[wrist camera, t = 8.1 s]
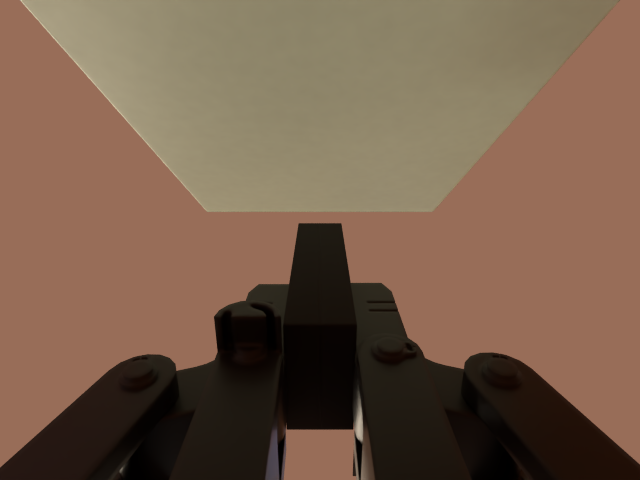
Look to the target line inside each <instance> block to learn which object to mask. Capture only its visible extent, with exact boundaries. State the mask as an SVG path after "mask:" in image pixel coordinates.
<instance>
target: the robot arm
mask: <svg viewBox="0 0 640 480" xmlns="http://www.w3.org/2000/svg"><path fill="white" fill-rule="evenodd" d="M214 320H215V330H216V340H217V349H218V353H217V355H216V358H215V360H214V361H212V362H209V363H207V364H204V365H201V366H197V367H193V368H188V369H184V370H179V371H176V366H175V363H174V362H173V361H172V360H171V359H170V358H168V357H165V356H162V355H149V354H147V355H142V356H137V357H133V358H130V359H128V360H126V361H123V362H121V363H119V364H118V365H116V366H115V367H113V368H112V369H110V370H109V371H108V372H107V373H106V374H104V375H103V376H102V377H101V378H100V379H99V380H98V381H97V382H95V383H94V384H93V385H92V386H91V387H90V388H89V389H88V390H87V391H85V392H84V393H83V394H82V395H81V396H80V397H79V398H78V399H76V400H75V401H74V402H73V403H72V404H71V405H70V406H69V407H68V408H66V409H65V410H64V411H63V412H62V413H61V414H60V415H59V416H57V417H56V418H55V419H54V420H53V421H52V422H51V423H50V424H49V425H47V426H46V427H45V428H44V429H43V430H42V431H41V432H40V433H38V434H37V435H36V436H35V437H34V438H33V439H32V440H31V441H30V442H28V443H27V444H26V445H25V446H24V447H23V448H22V449H21V450H19V451H18V452H17V453H16V454H15V455H14V456H13V457H12V458H10V459H9V460H8V461H7V462H6V463H5V464H4V465H3V466H2V467H0V480H283V479H284V468H285V457H286V433H285V431H286V422H287V429H353V422H354V429H355V433H354V459H353V476H356V479H357V480H640V464H638V463H637V462H636V461H635V460H634V459H633V458H632V457H631V456H629V455H628V454H627V453H626V452H625V451H624V450H623V449H622V448H620V447H619V446H618V445H617V444H616V443H615V442H614V441H613V440H611V439H610V438H609V437H608V436H607V435H606V434H605V433H604V432H602V431H601V430H600V429H599V428H598V427H597V426H596V425H595V424H593V423H592V422H591V421H590V420H589V419H588V418H587V417H586V416H584V415H583V414H582V413H581V412H580V411H579V410H578V409H576V408H575V407H574V406H573V405H572V404H571V403H570V402H568V401H567V400H566V399H565V398H564V397H563V396H562V395H561V394H560V393H558V392H557V391H556V390H555V389H554V388H553V387H552V386H551V385H549V384H548V383H547V382H546V381H545V380H544V379H543V378H542V377H540V376H539V375H538V374H537V373H536V372H535V371H534V370H533V369H531V368H530V367H528V366H527V365H526V364H524V363H522V362H521V361H519V360H517V359H514V358H512V357H510V356H507V355H503V354H498V353H479V354H476V355H473V356H470V357H469V359H468V360H467V361H466V362H465V365H464V369H460V368H455V367H451V366H446V365H442V364H438V363H435V362H432V361H430V360H428V359H426V358H425V357H424V355H423V352H422V350H421V349H420V347H419V346H418V345H417V344H416V343H415V342H413V341H412V340H410V339H409V338H408V337H407V334H406V331H405V329H404V326H403V323H402V320H401V317H400V314H399V312H398V309H397V306H396V303H395V300H394V297H393V295H392V292H391V291H390V290H389V289H388V288H387V287H385V286H384V285H383V284H382V283H350V276H349V270H348V264H347V257H346V251H345V244H344V238H343V232H342V225H341V223H299V225H298V232H297V238H296V245H295V251H294V257H293V264H292V270H291V276H290V283H289V284H259V285H257V286H256V287H255V288H254V289H253V290H251V291H250V292H249V293H248V296H247V299H246V301H240V302H237V303H234V304H230V305H228V306H226V307H224V308H223V309H221V310H219V311H218V313H217V314H216V315H215V316H214Z"/></svg>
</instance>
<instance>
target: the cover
mask: <svg viewBox="0 0 640 480" xmlns="http://www.w3.org/2000/svg"><path fill="white" fill-rule="evenodd" d="M20 1H21V2H22V3H23V4H24V5H25V6H26V7H27V9H28V10H29V11H30V12H31V13H32V14H33V15H34V16H35V18H36V19H37V20H38V21H39V22H40V23H41V24H42V26H43V27H44V28H45V29H46V30H47V31H48V32H49V33H50V35H51V36H52V37H53V38H54V39H55V40H56V41H57V42H58V44H59V45H60V46H61V47H62V48H63V49H64V50H65V52H66V53H67V54H68V55H69V56H70V57H71V58H72V59H73V61H74V62H75V63H76V64H77V65H78V66H79V67H80V69H81V70H82V71H83V72H84V73H85V74H86V75H87V76H88V78H89V79H90V80H91V81H92V82H93V83H94V84H95V85H96V87H97V88H98V89H99V90H100V91H101V92H102V93H103V95H104V96H105V97H106V98H107V99H108V100H109V101H110V102H111V104H112V105H113V106H114V107H115V108H116V109H117V110H118V112H119V113H120V114H121V115H122V116H123V117H124V118H125V119H126V121H127V122H128V123H129V124H130V125H131V126H132V127H133V129H134V130H135V131H136V132H137V133H138V134H139V135H140V136H141V138H142V139H143V140H144V141H145V142H146V143H147V144H148V145H149V147H150V148H151V149H152V150H153V151H154V152H155V153H156V155H157V156H158V157H159V158H160V159H161V160H162V161H163V162H164V164H165V165H166V166H167V167H168V168H169V169H170V170H171V171H172V173H173V174H174V175H175V176H176V177H177V178H178V179H179V181H180V182H181V183H182V184H183V185H184V186H185V187H186V188H187V190H188V191H189V192H190V193H191V194H192V195H193V196H194V198H195V199H196V200H197V201H198V202H199V203H200V204H201V205H202V207H203V208H204V209H205V210H206V211H207V212H433V211H434V210H435V209H436V208H437V207H438V205H439V204H440V203H441V202H442V201H443V200H444V199H445V198H446V196H447V195H448V194H449V193H450V192H451V191H452V190H453V188H454V187H455V186H456V185H457V184H458V183H459V182H460V181H461V179H462V178H463V177H464V176H465V175H466V174H467V173H468V172H469V170H470V169H471V168H472V167H473V166H474V165H475V163H476V162H477V161H478V160H479V159H480V158H481V157H482V156H483V155H484V153H485V152H486V151H487V150H488V149H489V148H490V147H491V145H492V144H493V143H494V142H495V141H496V140H497V139H498V138H499V136H500V135H501V134H502V133H503V132H504V131H505V130H506V129H507V127H508V126H509V125H510V124H511V123H512V122H513V121H514V119H515V118H516V117H517V116H518V115H519V114H520V113H521V111H522V110H523V109H524V108H525V107H526V106H527V105H528V104H529V102H530V101H531V100H532V99H533V98H534V97H535V96H536V95H537V93H538V92H539V91H540V90H541V89H542V88H543V87H544V85H545V84H546V83H547V82H548V81H549V80H550V79H551V77H552V76H553V75H554V74H555V73H556V72H557V71H558V70H559V69H560V67H561V66H562V65H563V64H564V63H565V62H566V61H567V59H568V58H569V57H570V56H571V55H572V54H573V53H574V52H575V50H576V49H577V48H578V47H579V46H580V45H581V44H582V43H583V41H584V40H585V39H586V38H587V37H588V36H589V35H590V33H591V32H592V31H593V30H594V29H595V28H596V27H597V26H598V24H599V23H600V22H601V21H602V20H603V19H604V18H605V16H606V15H607V14H608V13H609V12H610V11H611V10H612V9H613V7H614V6H615V5H616V4H617V3H618V2H619V1H620V0H20Z"/></svg>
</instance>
